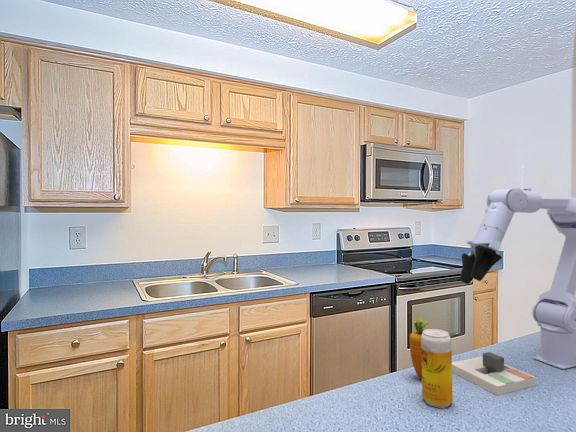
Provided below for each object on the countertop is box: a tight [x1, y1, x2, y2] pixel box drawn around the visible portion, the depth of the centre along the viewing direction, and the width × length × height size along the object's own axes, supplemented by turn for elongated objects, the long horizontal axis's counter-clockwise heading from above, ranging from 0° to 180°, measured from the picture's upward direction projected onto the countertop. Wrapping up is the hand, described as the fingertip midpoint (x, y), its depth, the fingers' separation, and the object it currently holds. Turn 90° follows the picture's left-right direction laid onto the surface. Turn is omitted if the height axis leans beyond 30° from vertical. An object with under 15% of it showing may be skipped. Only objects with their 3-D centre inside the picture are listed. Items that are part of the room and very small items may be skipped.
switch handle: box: [482, 351, 505, 374], centre depth 90 cm, size 2×4×5 cm, turn 20°
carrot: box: [408, 317, 429, 380], centre depth 90 cm, size 5×5×15 cm
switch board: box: [452, 355, 537, 396], centre depth 90 cm, size 12×14×2 cm
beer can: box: [421, 328, 454, 409], centre depth 79 cm, size 6×6×15 cm
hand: (469, 280), depth 88 cm, fingers open, 7 cm apart
